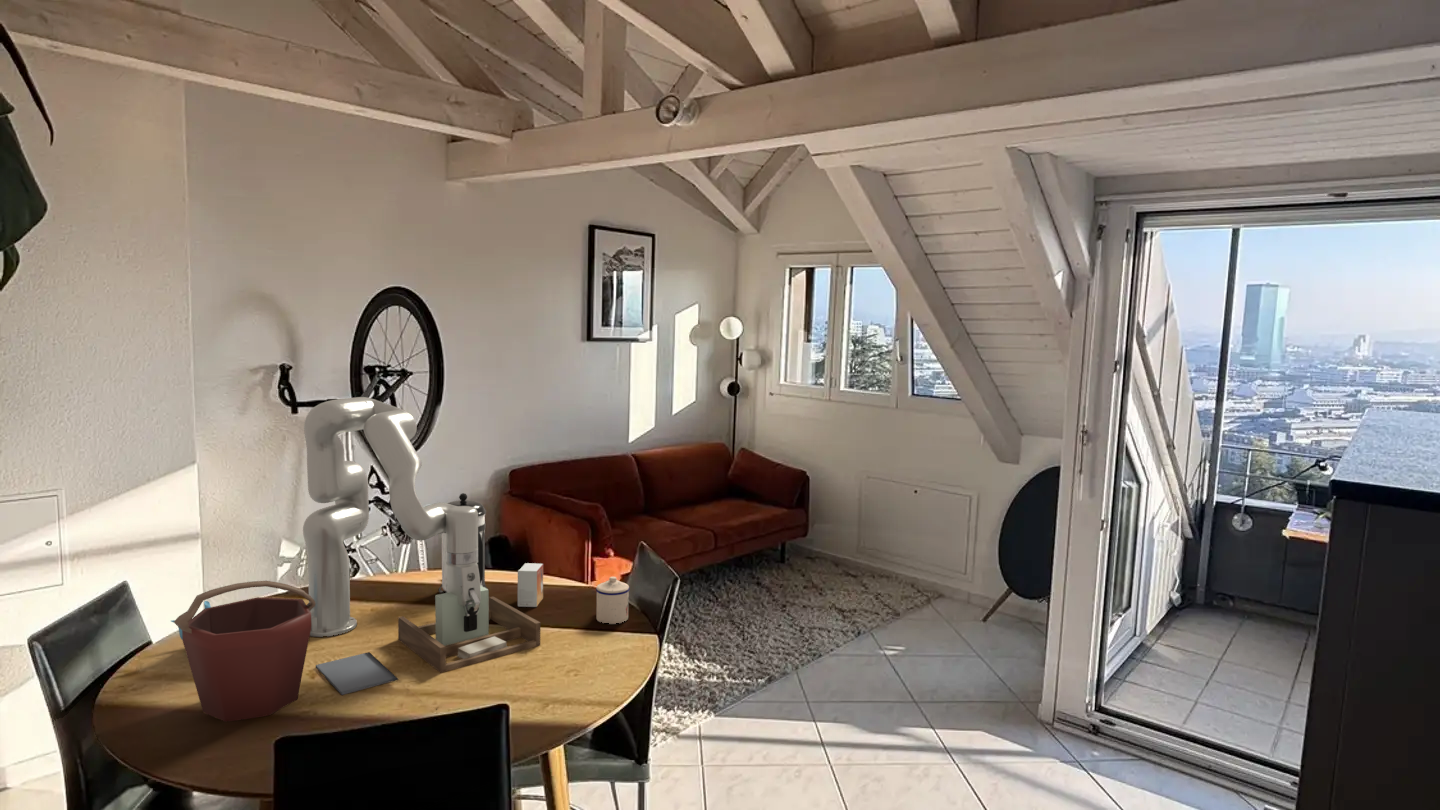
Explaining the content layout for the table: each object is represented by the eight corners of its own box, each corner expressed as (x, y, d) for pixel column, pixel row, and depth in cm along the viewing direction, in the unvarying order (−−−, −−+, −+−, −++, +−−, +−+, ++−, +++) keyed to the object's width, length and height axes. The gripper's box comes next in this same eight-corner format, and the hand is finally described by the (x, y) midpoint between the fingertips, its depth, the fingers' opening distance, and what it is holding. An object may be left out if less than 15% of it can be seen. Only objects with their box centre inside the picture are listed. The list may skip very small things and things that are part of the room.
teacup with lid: (634, 621, 218) (635, 579, 216) (602, 627, 213) (603, 584, 212) (617, 608, 228) (617, 568, 227) (586, 612, 223) (587, 572, 222)
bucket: (169, 736, 152) (164, 607, 149) (192, 687, 172) (188, 574, 170) (314, 714, 162) (311, 593, 159) (320, 671, 182) (318, 563, 179)
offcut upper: (469, 662, 186) (469, 653, 185) (457, 656, 189) (457, 648, 188) (506, 649, 193) (506, 641, 193) (494, 644, 196) (494, 636, 196)
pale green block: (442, 651, 194) (442, 599, 193) (435, 646, 197) (435, 595, 196) (488, 639, 203) (488, 589, 201) (481, 635, 205) (481, 585, 204)
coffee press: (425, 600, 230) (424, 497, 227) (452, 583, 246) (452, 487, 243) (481, 605, 227) (481, 501, 224) (505, 588, 243) (505, 490, 240)
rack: (440, 678, 180) (440, 647, 179) (398, 644, 198) (398, 617, 197) (540, 650, 197) (540, 622, 196) (493, 621, 215) (493, 596, 214)
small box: (536, 607, 227) (537, 571, 226) (517, 607, 227) (517, 570, 226) (543, 598, 235) (543, 563, 234) (524, 597, 235) (524, 562, 234)
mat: (341, 695, 170) (341, 692, 170) (315, 667, 183) (315, 665, 183) (425, 672, 182) (425, 669, 182) (395, 648, 196) (395, 645, 196)
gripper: (492, 562, 194) (492, 632, 196) (461, 546, 207) (461, 612, 208) (463, 567, 189) (463, 639, 191) (432, 551, 202) (433, 619, 203)
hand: (462, 625), depth 200 cm, fingers open, 8 cm apart
